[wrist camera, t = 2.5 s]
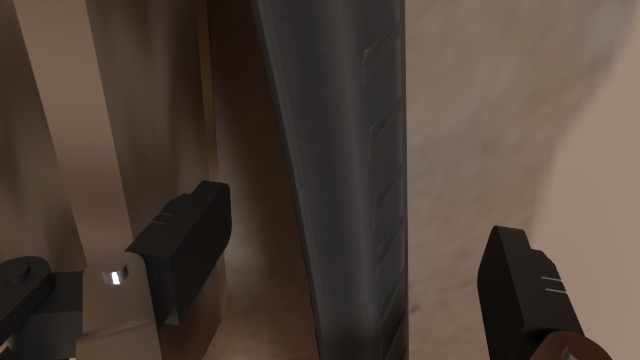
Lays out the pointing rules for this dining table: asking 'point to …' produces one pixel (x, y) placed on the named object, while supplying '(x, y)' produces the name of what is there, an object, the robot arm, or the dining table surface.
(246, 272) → the dining table surface
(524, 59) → the dining table surface
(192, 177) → the slot block
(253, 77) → the dining table surface
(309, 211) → the magazine
